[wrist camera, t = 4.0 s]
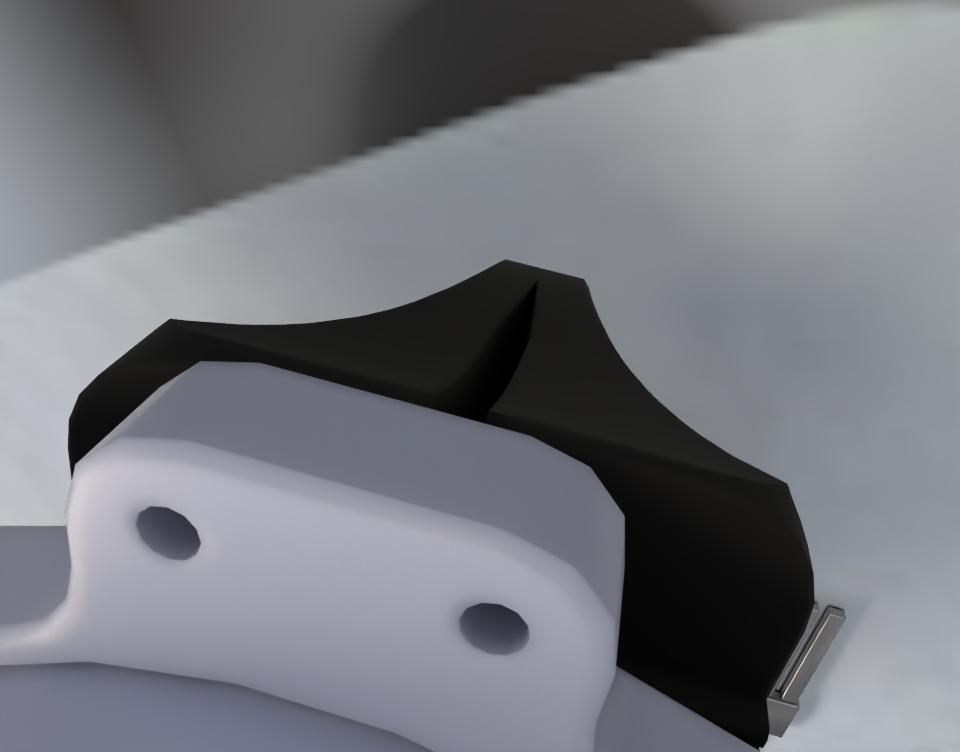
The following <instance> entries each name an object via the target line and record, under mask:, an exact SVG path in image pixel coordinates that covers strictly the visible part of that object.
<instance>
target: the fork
mask: <svg viewBox="0 0 960 752" xmlns="http://www.w3.org/2000/svg"><path fill="white" fill-rule="evenodd" d="M818 613H819V606H818V604H817V603H815V604H814V607H813V610H812V613H811V616H810V618H809V621H808V624H807V627H806V630H805V632H804V634H803V636H802V638H801V639H800V641H799V643H798V645H797V647H796V648H795V650H794V652H793V654H792V655H791V657H790V659H789V661H788V663H787V664H786V666H785V668H784V670H783V671H782V673H781V675H780V677H779V679H778V680H777V682H776V684H775V686H774V687H773V689H772V691H771V693H770V695H769V696H768V698H767V708H768V717H769V726H770V731H769V734H771V735H775V736H778V737H782V736H783V734H784V733H785V731H786V729H787V728H788V726H789V724H790V723H791V721H792V719H793V718H794V716H795V714H796V713H797V711H798V709H799V701H798V699H799V697H800V695H801V694H802V692H803V690H804V688H805V687H806V685H807V683H808V682H809V680H810V678H811V677H812V675H813V673H814V672H815V670H816V668H817V666H818V665H819V663H820V661H821V660H822V658H823V656H824V655H825V653H826V651H827V650H828V648H829V646H830V644H831V643H832V641H833V639H834V638H835V636H836V634H837V633H838V631H839V629H840V628H841V626H842V624H843V622H844V621H845V619H846V617H845V612H844V611H842V610H839V609H835V608H832V607H828V609H827V611H826V612H825V614H824V616H823V618H822V619H821V621H820V623H819V625H818V626H817V628H816V630H815V632H814V634H813V635H812V637H811V639H810V641H809V642H808V644H807V646H806V648H805V649H804V651H803V653H802V655H801V656H800V658H799V660H798V662H797V663H796V665H795V667H794V669H793V670H792V672H791V674H790V676H789V677H788V679H787V681H786V683H785V684H784V686H783V688H782V690H781V692H780V693H779V692H776V691H775V689H776V687H777V686H778V684H779V682H780V680H781V679H782V677H783V675H784V673H785V671H786V670H787V668H788V666H789V664H790V663H791V661H792V659H793V657H794V655H795V654H796V652H797V650H798V648H799V647H800V645H801V643H802V641H803V639H804V638H805V636H806V634H807V632H808V631H809V629H810V627H811V625H812V623H813V622H814V620H815V618H816V616H817V615H818Z"/></svg>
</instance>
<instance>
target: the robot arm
mask: <svg viewBox="0 0 960 752" xmlns="http://www.w3.org/2000/svg"><path fill="white" fill-rule="evenodd" d="M68 452H69V461H70V470H71V478H72V482H71V487H70V491H69V496H68V500H67V504H66V509H65V518H66V526H0V752H760V751H759V747H761V748H763V747H764V745H765V743H766V742H767V740H768V736H769V731H770V726H769V717H768V708H767V698H768V696H769V695H770V693H771V691H772V689H773V687H774V686H775V684H776V682H777V680H778V679H779V677H780V675H781V673H782V671H783V670H784V668H785V666H786V664H787V663H788V661H789V659H790V657H791V655H792V654H793V652H794V650H795V648H796V647H797V645H798V643H799V641H800V639H801V638H802V636H803V634H804V632H805V630H806V627H807V624H808V621H809V618H810V616H811V613H812V610H813V607H814V604H815V603H814V576H813V569H812V564H811V559H810V554H809V549H808V545H807V541H806V538H805V534H804V531H803V527H802V524H801V521H800V518H799V515H798V512H797V510H796V507H795V505H794V502H793V499H792V497H791V494H790V490H789V487H788V485H787V483H785V482H783V481H781V480H779V479H777V478H775V477H773V476H771V475H769V474H767V473H765V472H763V471H761V470H759V469H757V468H755V467H753V466H751V465H749V464H747V463H746V462H744V461H742V460H740V459H738V458H736V457H734V456H732V455H730V454H729V453H727V452H725V451H724V450H722V449H721V448H719V447H718V446H716V445H715V444H713V443H712V442H710V441H709V440H707V439H705V438H704V437H702V436H701V435H699V434H698V433H697V432H695V431H694V430H693V429H691V428H690V427H689V426H687V425H686V424H685V423H683V422H682V421H681V420H680V419H679V418H677V417H676V416H675V415H674V414H673V413H672V412H670V411H669V410H668V409H667V408H666V407H665V406H663V405H662V404H661V403H660V402H659V401H658V400H657V399H656V398H655V397H654V396H653V395H652V394H651V393H650V392H649V391H648V390H647V389H646V388H645V387H644V386H643V384H642V383H641V382H640V381H639V380H638V379H637V378H636V376H635V375H634V374H633V373H632V372H631V371H630V369H629V368H628V367H627V365H626V364H625V363H624V361H623V360H622V358H621V357H620V355H619V354H618V352H617V351H616V349H615V348H614V346H613V344H612V342H611V341H610V339H609V337H608V335H607V333H606V331H605V329H604V327H603V325H602V323H601V321H600V318H599V316H598V314H597V311H596V309H595V306H594V304H593V301H592V298H591V295H590V291H589V287H588V285H587V284H586V282H585V280H584V279H581V278H577V277H573V276H569V275H565V274H561V273H557V272H553V271H549V270H545V269H541V268H537V267H533V266H529V265H525V264H522V263H518V262H514V261H510V260H504V261H501V262H499V263H497V264H495V265H493V266H492V267H490V268H488V269H486V270H484V271H482V272H480V273H478V274H477V275H475V276H472V277H470V278H468V279H466V280H464V281H462V282H460V283H458V284H456V285H454V286H452V287H450V288H448V289H445V290H443V291H440V292H438V293H435V294H433V295H430V296H428V297H425V298H423V299H420V300H418V301H415V302H412V303H409V304H406V305H403V306H400V307H397V308H393V309H390V310H386V311H381V312H377V313H373V314H369V315H364V316H359V317H353V318H345V319H338V320H331V321H324V322H316V323H306V324H287V325H238V324H225V323H211V322H198V321H185V320H177V319H169V320H168V321H166V322H165V323H164V324H162V325H161V326H160V327H158V328H157V329H156V330H154V331H153V332H152V333H151V334H149V335H148V336H147V337H146V338H144V339H143V340H142V341H141V342H139V343H138V344H137V345H136V346H134V347H133V348H132V349H131V350H129V351H128V352H127V353H126V354H124V355H123V356H122V357H121V358H119V359H118V360H117V361H116V362H114V363H113V364H112V365H111V366H109V367H108V368H107V369H106V370H104V371H103V372H102V373H100V374H99V375H98V376H97V377H96V378H95V379H94V380H93V381H92V382H91V383H90V384H89V385H88V386H87V387H86V388H85V389H84V390H83V391H82V392H81V393H80V394H79V396H78V399H77V401H76V404H75V406H74V409H73V411H72V413H71V416H70V418H69V433H68Z"/></svg>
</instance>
